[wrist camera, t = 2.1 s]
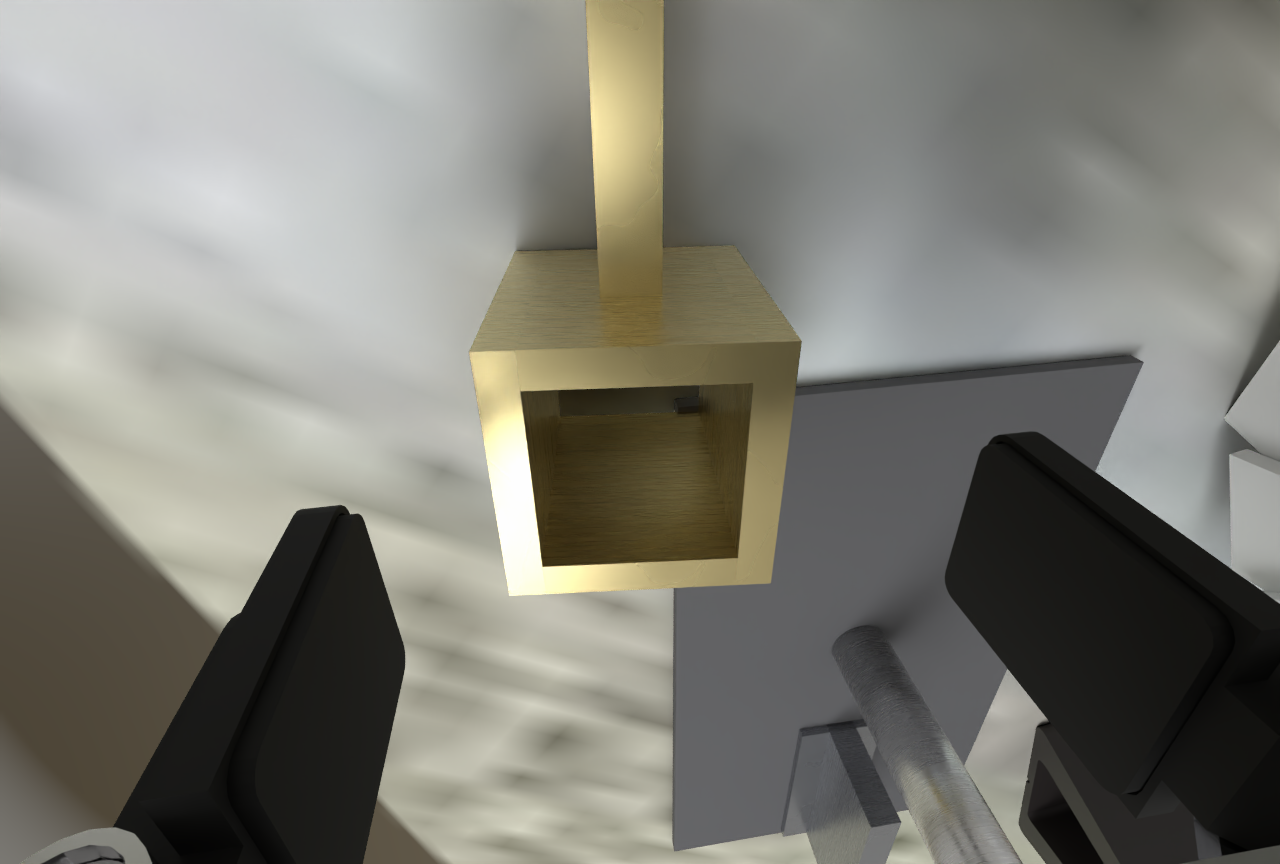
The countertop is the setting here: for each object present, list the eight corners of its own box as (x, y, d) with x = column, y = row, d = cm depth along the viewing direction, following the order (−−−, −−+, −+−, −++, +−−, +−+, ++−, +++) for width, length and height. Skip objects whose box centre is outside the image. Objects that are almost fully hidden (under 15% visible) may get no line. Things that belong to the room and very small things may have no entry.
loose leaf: (445, -351, 8) (281, -781, 4) (771, -347, 9) (941, -762, 4) (536, 439, 15) (509, 595, 10) (722, 432, 15) (770, 583, 11)
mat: (674, 399, 15) (678, 407, 14) (1130, 355, 16) (1143, 362, 16) (672, 841, 26) (674, 851, 26) (942, 793, 27) (947, 802, 27)
